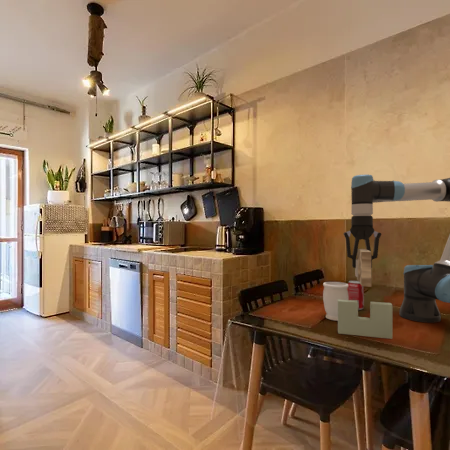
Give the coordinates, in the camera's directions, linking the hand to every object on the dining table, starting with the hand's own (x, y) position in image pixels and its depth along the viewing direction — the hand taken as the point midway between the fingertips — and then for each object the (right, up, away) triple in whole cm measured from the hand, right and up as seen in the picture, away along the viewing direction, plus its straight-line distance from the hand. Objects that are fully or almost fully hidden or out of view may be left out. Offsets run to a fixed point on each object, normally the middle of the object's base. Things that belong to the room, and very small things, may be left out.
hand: (361, 276), depth 116 cm
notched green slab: (-1, -21, -5) cm, 21 cm away
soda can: (+11, -21, +30) cm, 38 cm away
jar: (-5, -21, +15) cm, 26 cm away
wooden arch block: (-1, -2, -5) cm, 5 cm away
